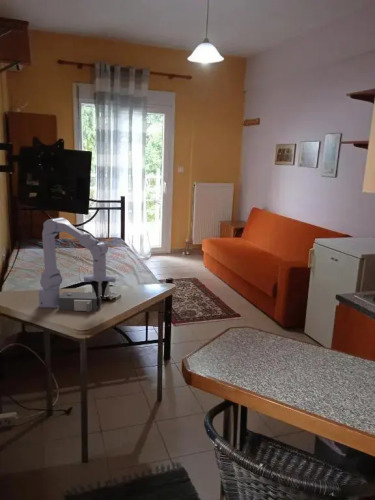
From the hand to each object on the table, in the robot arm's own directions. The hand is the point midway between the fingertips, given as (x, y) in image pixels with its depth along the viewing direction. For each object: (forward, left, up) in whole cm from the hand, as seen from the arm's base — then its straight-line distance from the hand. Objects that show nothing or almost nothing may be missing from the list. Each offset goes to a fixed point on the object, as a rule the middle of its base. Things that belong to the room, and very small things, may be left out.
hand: (100, 296), depth 190 cm
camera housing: (-12, +8, -8) cm, 17 cm away
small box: (-5, +25, -9) cm, 27 cm away
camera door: (-9, +1, -8) cm, 12 cm away
